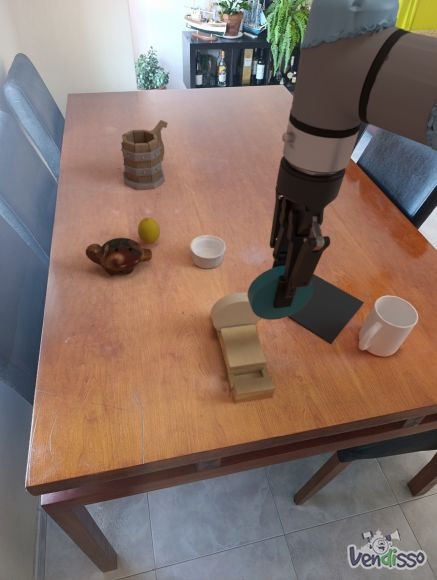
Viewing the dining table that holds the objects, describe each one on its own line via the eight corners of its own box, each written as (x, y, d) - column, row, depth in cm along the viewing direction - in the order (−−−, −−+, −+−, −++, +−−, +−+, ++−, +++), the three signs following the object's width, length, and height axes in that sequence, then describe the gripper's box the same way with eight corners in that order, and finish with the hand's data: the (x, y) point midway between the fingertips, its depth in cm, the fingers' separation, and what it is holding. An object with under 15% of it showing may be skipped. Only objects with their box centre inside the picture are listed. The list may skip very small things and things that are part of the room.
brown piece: (86, 261, 93) (81, 234, 87) (146, 252, 98) (146, 226, 92) (91, 286, 86) (87, 259, 81) (156, 276, 91) (156, 249, 86)
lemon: (135, 241, 99) (132, 216, 93) (153, 234, 102) (151, 209, 96) (147, 252, 96) (144, 227, 90) (164, 244, 99) (163, 219, 93)
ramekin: (231, 256, 97) (232, 243, 94) (211, 275, 92) (212, 262, 89) (203, 243, 100) (204, 230, 97) (183, 260, 95) (182, 247, 92)
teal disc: (305, 315, 63) (320, 272, 55) (247, 323, 61) (255, 280, 54) (300, 305, 64) (313, 261, 57) (244, 312, 62) (251, 268, 55)
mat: (363, 303, 88) (364, 302, 88) (330, 344, 79) (331, 343, 79) (292, 263, 96) (292, 262, 96) (255, 296, 88) (255, 295, 87)
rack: (271, 401, 70) (276, 387, 66) (233, 407, 68) (235, 394, 65) (245, 318, 83) (248, 303, 79) (212, 322, 82) (214, 307, 78)
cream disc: (258, 330, 78) (265, 298, 71) (211, 336, 76) (214, 304, 69) (255, 321, 80) (262, 289, 72) (209, 327, 78) (211, 295, 71)
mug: (367, 372, 75) (387, 342, 67) (337, 343, 80) (353, 312, 72) (404, 346, 80) (427, 316, 72) (374, 321, 84) (392, 289, 77)
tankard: (146, 194, 115) (142, 147, 104) (115, 181, 119) (108, 134, 108) (184, 168, 127) (184, 124, 116) (155, 157, 131) (151, 113, 120)
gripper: (263, 132, 47) (243, 268, 64) (308, 200, 37) (271, 340, 54) (318, 130, 49) (284, 263, 66) (376, 195, 38) (319, 333, 55)
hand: (278, 298), depth 60 cm, fingers closed on teal disc, 2 cm apart
